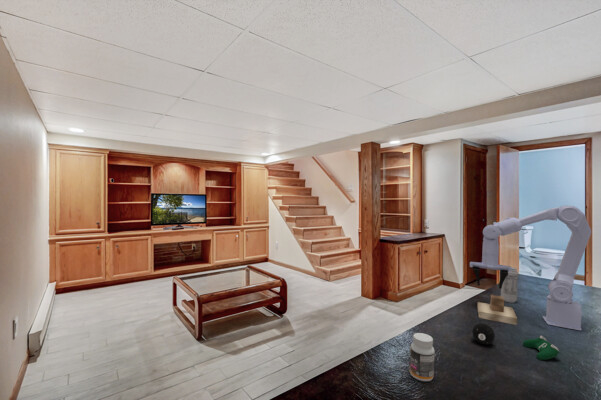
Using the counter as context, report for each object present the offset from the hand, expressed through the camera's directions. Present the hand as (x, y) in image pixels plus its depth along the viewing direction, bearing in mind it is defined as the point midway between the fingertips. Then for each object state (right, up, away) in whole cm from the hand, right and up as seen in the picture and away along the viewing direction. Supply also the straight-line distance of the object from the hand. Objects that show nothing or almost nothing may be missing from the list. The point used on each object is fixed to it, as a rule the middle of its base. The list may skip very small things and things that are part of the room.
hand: (489, 286), depth 124 cm
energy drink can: (+16, -10, +11) cm, 21 cm away
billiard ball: (-21, -10, -30) cm, 37 cm away
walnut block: (-2, -7, -7) cm, 10 cm away
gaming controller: (-7, -10, -35) cm, 37 cm away
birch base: (-2, -10, -7) cm, 12 cm away
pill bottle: (-48, -9, -48) cm, 68 cm away
